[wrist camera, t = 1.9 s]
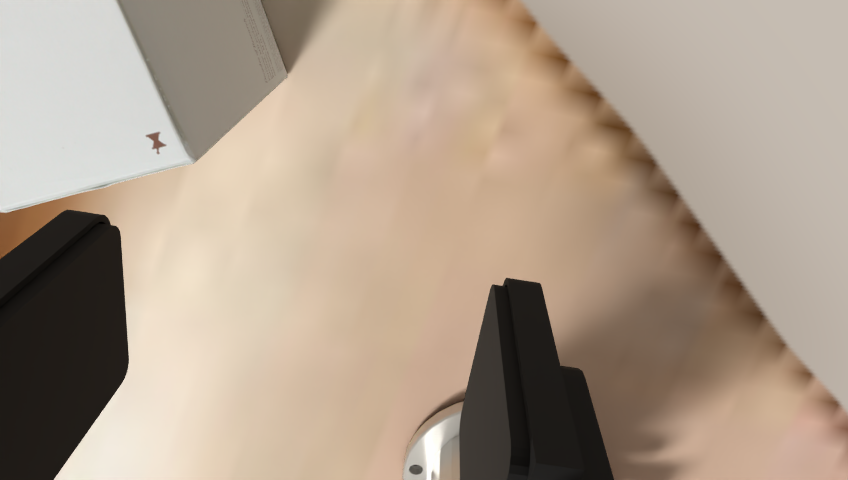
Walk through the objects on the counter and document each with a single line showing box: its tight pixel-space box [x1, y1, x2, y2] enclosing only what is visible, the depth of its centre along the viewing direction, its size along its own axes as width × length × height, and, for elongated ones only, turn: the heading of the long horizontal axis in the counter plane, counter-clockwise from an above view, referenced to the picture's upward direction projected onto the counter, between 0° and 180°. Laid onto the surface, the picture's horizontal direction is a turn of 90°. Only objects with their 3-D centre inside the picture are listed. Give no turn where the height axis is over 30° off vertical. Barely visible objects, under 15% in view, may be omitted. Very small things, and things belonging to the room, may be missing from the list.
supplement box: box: [0, 0, 288, 213], centre depth 25 cm, size 7×7×13 cm
